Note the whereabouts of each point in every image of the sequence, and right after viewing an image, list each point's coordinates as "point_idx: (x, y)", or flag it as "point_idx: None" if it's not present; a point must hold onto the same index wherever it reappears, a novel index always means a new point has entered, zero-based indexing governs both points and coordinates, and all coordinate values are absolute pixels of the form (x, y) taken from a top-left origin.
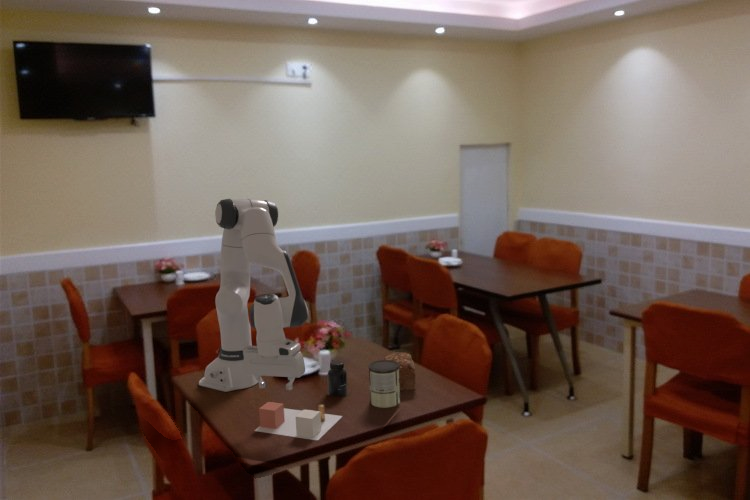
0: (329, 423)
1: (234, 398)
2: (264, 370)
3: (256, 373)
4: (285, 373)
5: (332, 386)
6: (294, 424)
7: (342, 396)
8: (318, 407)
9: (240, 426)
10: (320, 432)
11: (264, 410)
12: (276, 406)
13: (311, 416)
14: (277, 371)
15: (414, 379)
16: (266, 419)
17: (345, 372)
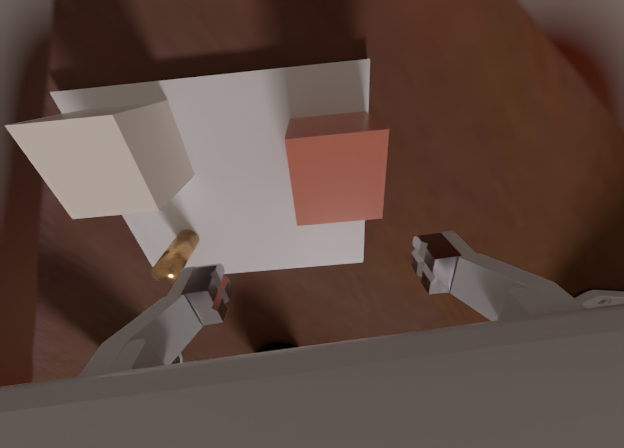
0: (149, 230)
1: (550, 269)
2: (483, 417)
3: (594, 330)
4: (76, 428)
5: None
6: (248, 181)
7: (258, 351)
8: (169, 264)
9: (460, 100)
10: None
11: (350, 130)
12: (309, 188)
13: (43, 153)
14: (214, 444)
15: None
16: (335, 121)
17: None
